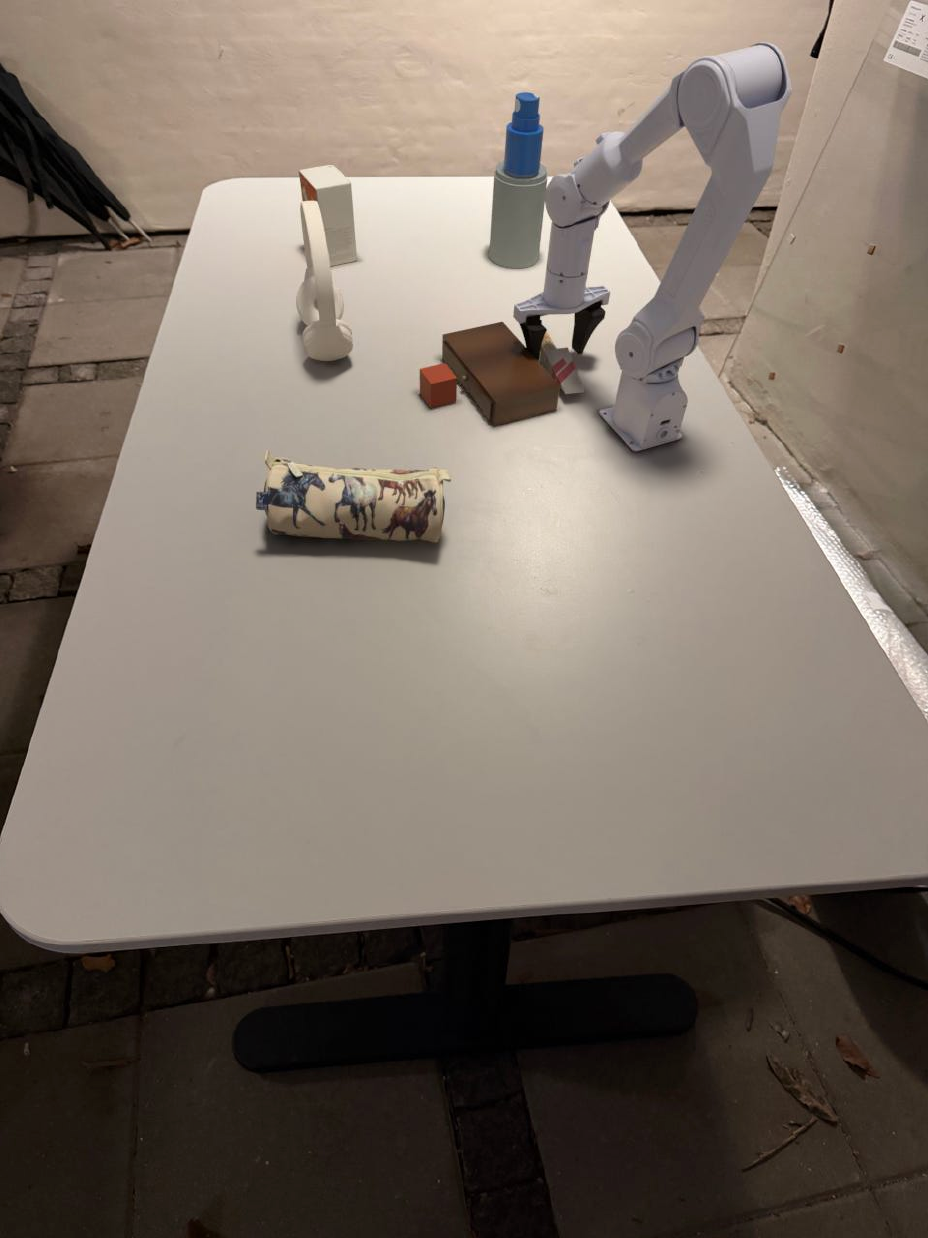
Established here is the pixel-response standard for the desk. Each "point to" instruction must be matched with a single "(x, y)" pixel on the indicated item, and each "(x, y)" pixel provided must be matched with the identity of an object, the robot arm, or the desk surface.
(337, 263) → the small box
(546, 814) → the desk surface
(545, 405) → the cabinet
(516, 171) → the spray bottle
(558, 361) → the paintbrush
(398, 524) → the pencil case
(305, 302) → the headphones
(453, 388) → the block
